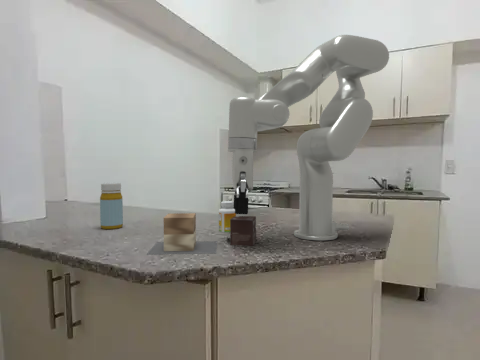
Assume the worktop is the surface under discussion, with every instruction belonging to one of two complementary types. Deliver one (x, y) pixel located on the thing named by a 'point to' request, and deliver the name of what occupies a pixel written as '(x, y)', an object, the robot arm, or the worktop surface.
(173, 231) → the tower top
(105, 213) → the bottle
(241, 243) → the box
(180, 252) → the mat
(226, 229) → the supplement bottle
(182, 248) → the tower base
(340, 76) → the robot arm
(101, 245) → the worktop surface
